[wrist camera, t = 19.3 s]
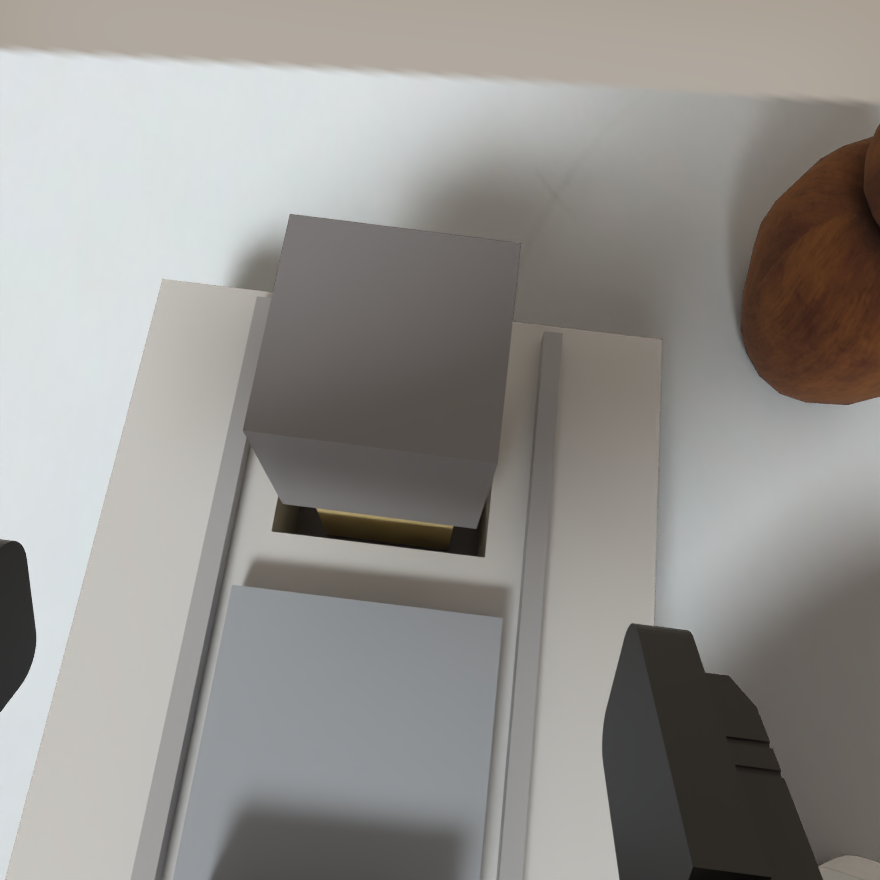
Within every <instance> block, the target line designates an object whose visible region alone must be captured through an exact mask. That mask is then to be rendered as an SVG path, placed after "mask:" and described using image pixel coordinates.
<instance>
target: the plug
mask: <svg viewBox="0 0 880 880" xmlns="http://www.w3.org/2000/svg"><path fill="white" fill-rule="evenodd" d="M520 248H521V243H515V242H507V241H500V240H492V239H484V238H476V237H468V236H460V235H452V234H444V233H436V232H428V231H421V230H413V229H405V228H397V227H389V226H381V225H373V224H365V223H357V222H350V221H342V220H334V219H326V218H318V217H310V216H302V215H294V214H290V215H289V220H288V225H287V229H286V234H285V238H284V243H283V248H282V252H281V257H280V261H279V266H278V271H277V275H276V280H275V284H274V289H273V293H272V298H271V303H270V307H269V312H268V316H267V321H266V326H265V330H264V335H263V339H262V344H261V348H260V353H259V358H258V362H257V367H256V371H255V376H254V381H253V385H252V390H251V394H250V399H249V404H248V408H247V413H246V417H245V422H244V426H243V432H244V434H245V436H246V438H247V439H248V441H249V443H250V445H251V447H252V449H253V450H254V452H255V454H256V456H257V458H258V460H259V462H260V463H261V465H262V467H263V469H264V471H265V473H266V474H267V476H268V478H269V480H270V482H271V484H272V485H273V487H274V489H275V491H276V493H277V495H278V496H279V498H280V500H281V502H282V504H287V505H295V506H303V507H311V508H316V509H317V512H318V514H319V516H320V519H321V521H322V524H323V526H324V529H325V531H326V534H328V535H335V536H343V537H351V538H358V539H366V540H374V541H382V542H389V543H397V544H405V545H412V546H420V547H428V548H436V549H443V550H448V549H449V544H450V539H451V535H452V530H453V526H457V527H465V528H473V529H476V528H477V525H478V522H479V519H480V516H481V513H482V510H483V507H484V504H485V501H486V498H487V495H488V492H489V489H490V486H491V483H492V479H493V476H494V473H495V470H496V467H497V464H498V457H499V447H500V438H501V428H502V419H503V409H504V400H505V390H506V381H507V371H508V362H509V352H510V343H511V333H512V324H513V314H514V305H515V295H516V286H517V276H518V267H519V257H520Z"/></svg>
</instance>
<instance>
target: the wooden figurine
mask: <svg viewBox="0 0 880 880" xmlns="http://www.w3.org/2000/svg"><path fill="white" fill-rule="evenodd" d="M741 332H742V336H743V340H744V344H745V348H746V352H747V354H748V356H749V358H750V359H751V361H752V363H753V365H754V367H755V369H756V371H757V373H758V374H759V376H760V377H761V378H763V379H764V380H765V381H766V382H767V383H768V384H769V385H771V386H772V387H773V388H774V389H775V390H776V391H778V392H779V393H780V394H783V395H786V396H789V397H791V398H794V399H797V400H800V401H803V402H809V403H823V404H840V405H849V404H853V403H857V402H861V401H865V400H869V399H872V398H876V397H880V125H879V126H878V128H877V130H876V132H875V134H874V136H873V137H871V138H868V139H864V140H861V141H858V142H855V143H852V144H849V145H846V146H843V147H841V148H839V149H837V150H836V151H834V152H832V153H830V154H828V155H827V156H825V157H823V158H821V159H820V160H819V161H818V162H817V163H816V164H815V165H814V166H812V167H811V168H810V169H809V170H808V171H807V172H806V173H805V174H804V175H803V176H802V177H801V178H800V179H799V180H798V181H797V182H795V183H794V184H793V185H792V186H791V187H790V188H789V189H788V190H787V191H786V192H785V193H784V194H783V195H782V196H781V197H780V198H779V199H778V200H777V201H776V202H775V203H774V205H773V206H772V208H771V209H770V211H769V212H768V214H767V215H766V217H765V218H764V219H763V221H762V222H761V225H760V228H759V231H758V235H757V238H756V241H755V244H754V248H753V252H752V257H751V261H750V266H749V270H748V275H747V279H746V283H745V287H744V291H743V303H742V317H741Z"/></svg>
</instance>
